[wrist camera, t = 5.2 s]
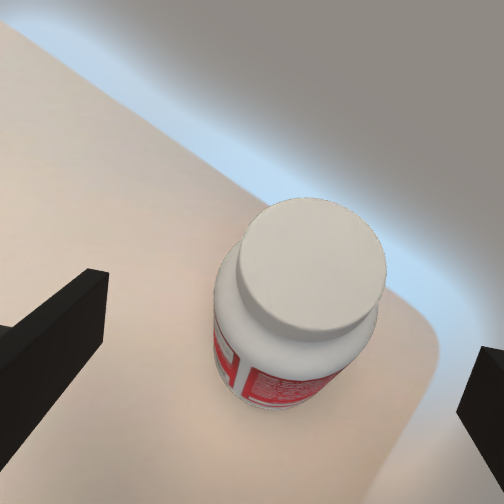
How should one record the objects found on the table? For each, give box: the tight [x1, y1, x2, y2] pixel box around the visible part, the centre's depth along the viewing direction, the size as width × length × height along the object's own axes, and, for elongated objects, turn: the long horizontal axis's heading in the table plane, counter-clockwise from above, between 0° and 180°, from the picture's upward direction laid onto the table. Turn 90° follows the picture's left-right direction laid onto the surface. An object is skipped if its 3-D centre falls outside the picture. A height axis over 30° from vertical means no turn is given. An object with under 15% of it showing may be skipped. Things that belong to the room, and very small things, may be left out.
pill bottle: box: [214, 198, 387, 410], centre depth 19 cm, size 6×6×11 cm
